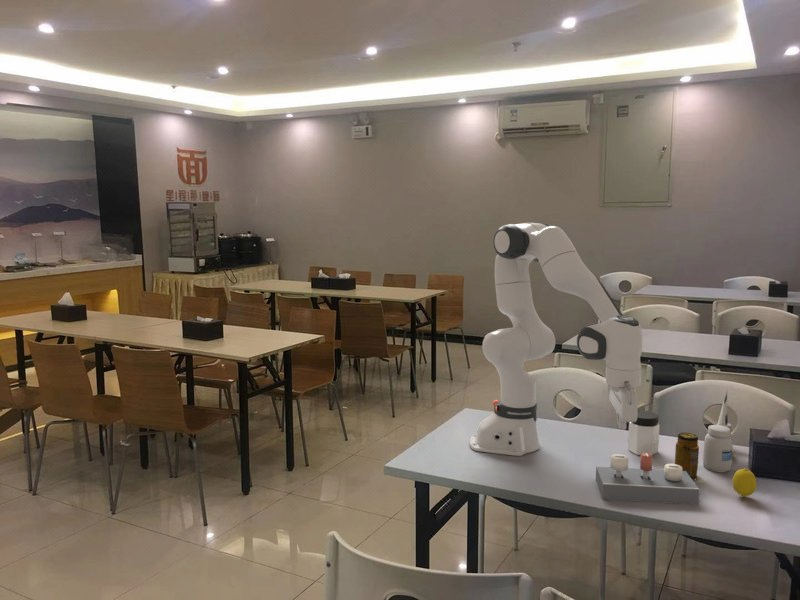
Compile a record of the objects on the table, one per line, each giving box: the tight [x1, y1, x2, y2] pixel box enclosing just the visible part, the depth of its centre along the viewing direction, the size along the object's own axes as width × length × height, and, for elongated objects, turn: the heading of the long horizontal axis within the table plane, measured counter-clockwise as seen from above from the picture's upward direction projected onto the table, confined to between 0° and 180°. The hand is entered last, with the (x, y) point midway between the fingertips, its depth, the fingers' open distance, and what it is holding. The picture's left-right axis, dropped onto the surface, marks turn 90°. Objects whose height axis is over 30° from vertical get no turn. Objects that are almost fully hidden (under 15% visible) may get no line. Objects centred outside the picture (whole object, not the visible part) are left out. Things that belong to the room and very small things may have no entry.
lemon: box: [732, 467, 757, 498], centre depth 169 cm, size 6×6×8 cm
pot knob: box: [639, 453, 654, 480], centre depth 172 cm, size 3×3×8 cm
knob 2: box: [663, 463, 682, 481], centre depth 171 cm, size 4×4×7 cm
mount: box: [595, 466, 700, 505], centre depth 173 cm, size 24×12×4 cm, turn 82°
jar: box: [627, 410, 660, 456], centre depth 201 cm, size 9×8×12 cm
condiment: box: [674, 431, 706, 484], centre depth 182 cm, size 7×8×12 cm
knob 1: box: [610, 453, 629, 478], centre depth 173 cm, size 4×4×7 cm
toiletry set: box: [702, 388, 735, 473], centre depth 194 cm, size 25×8×20 cm, turn 148°
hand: (621, 427), depth 171 cm, fingers closed
